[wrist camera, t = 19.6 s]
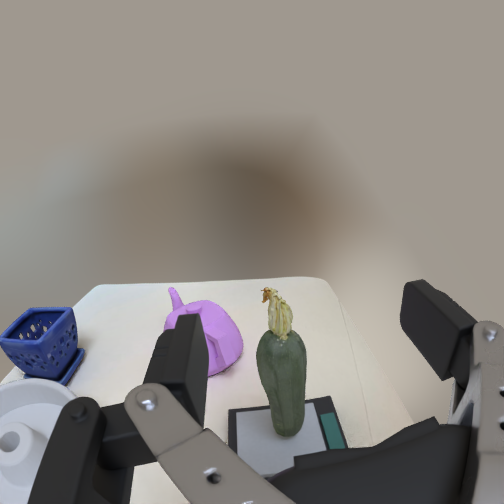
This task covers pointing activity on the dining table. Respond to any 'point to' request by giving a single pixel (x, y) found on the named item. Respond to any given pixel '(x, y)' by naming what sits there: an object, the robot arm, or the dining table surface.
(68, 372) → the flower pot
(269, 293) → the vegetable
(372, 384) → the dining table surface
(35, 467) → the container
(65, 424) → the robot arm
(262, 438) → the scale
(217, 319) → the teapot
